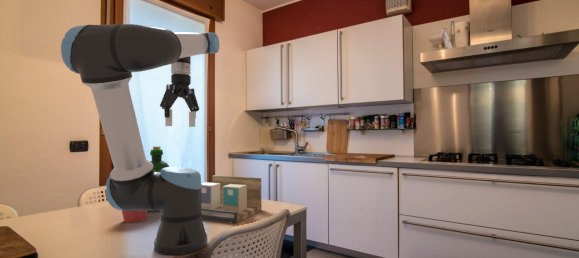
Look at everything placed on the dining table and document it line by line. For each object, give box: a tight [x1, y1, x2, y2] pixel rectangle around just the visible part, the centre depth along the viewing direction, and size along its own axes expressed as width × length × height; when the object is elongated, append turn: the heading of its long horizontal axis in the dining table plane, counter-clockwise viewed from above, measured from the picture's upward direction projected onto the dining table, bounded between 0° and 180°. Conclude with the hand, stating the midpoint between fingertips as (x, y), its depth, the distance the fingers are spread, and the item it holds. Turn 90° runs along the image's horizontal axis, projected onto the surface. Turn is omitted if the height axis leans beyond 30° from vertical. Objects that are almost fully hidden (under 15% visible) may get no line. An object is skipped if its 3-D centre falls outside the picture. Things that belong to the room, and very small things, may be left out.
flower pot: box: [121, 210, 148, 223], centre depth 118 cm, size 11×11×10 cm
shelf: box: [201, 174, 262, 224], centre depth 127 cm, size 21×25×14 cm
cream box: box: [201, 181, 220, 209], centre depth 130 cm, size 6×8×10 cm
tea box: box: [222, 184, 247, 212], centre depth 125 cm, size 8×6×10 cm
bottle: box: [149, 145, 170, 213], centre depth 134 cm, size 11×11×28 cm
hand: (181, 126), depth 123 cm, fingers open, 13 cm apart
